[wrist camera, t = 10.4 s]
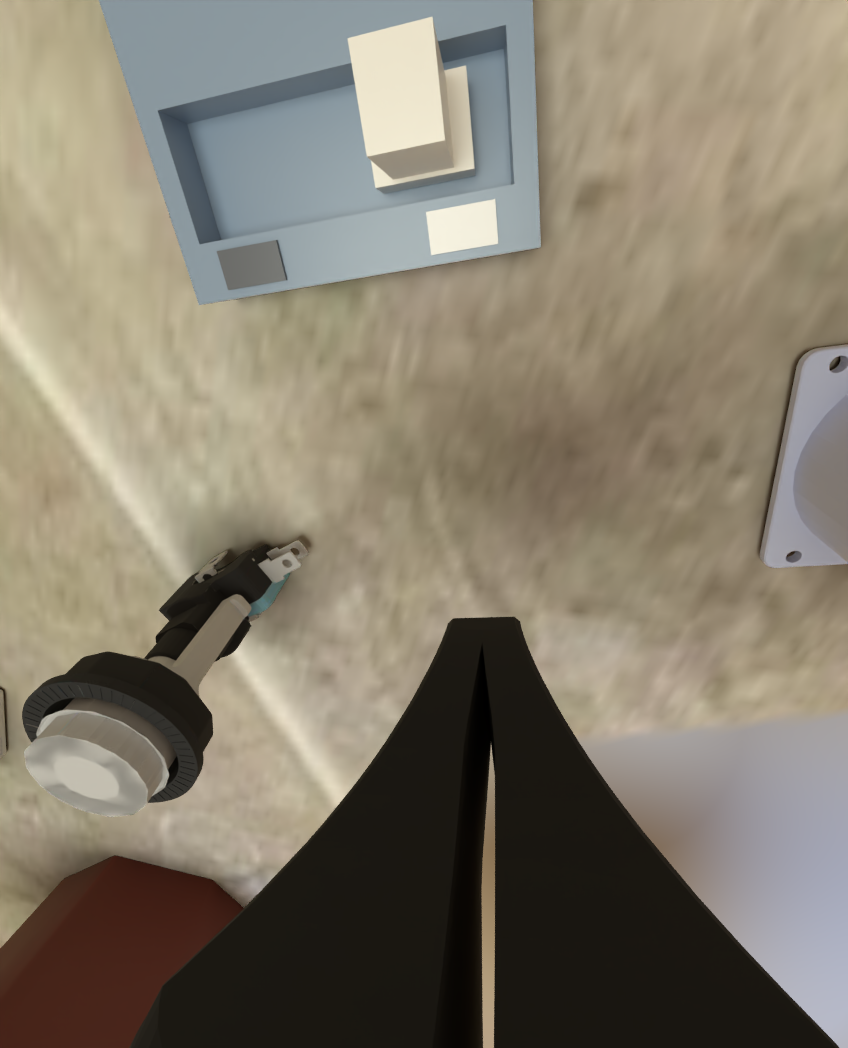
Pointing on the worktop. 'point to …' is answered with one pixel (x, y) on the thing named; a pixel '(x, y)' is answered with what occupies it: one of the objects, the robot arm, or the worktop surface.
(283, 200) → the dip bank
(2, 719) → the light bulb box
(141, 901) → the bucket
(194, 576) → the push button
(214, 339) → the worktop surface
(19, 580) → the worktop surface
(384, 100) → the tab
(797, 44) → the worktop surface
